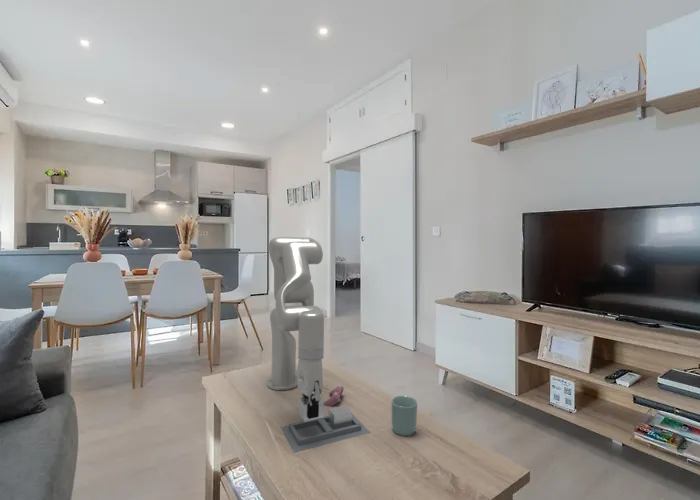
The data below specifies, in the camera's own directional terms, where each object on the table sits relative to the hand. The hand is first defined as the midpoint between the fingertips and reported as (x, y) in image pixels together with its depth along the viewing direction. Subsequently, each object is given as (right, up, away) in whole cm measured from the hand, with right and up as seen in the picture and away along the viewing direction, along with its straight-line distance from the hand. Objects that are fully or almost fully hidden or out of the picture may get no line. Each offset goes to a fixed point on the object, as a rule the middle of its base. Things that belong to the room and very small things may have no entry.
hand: (310, 412), depth 104 cm
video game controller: (+6, -7, +22) cm, 24 cm away
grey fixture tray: (+4, -7, +3) cm, 9 cm away
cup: (+28, -8, +3) cm, 30 cm away
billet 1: (0, -1, 0) cm, 1 cm away
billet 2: (+9, -6, +5) cm, 12 cm away
